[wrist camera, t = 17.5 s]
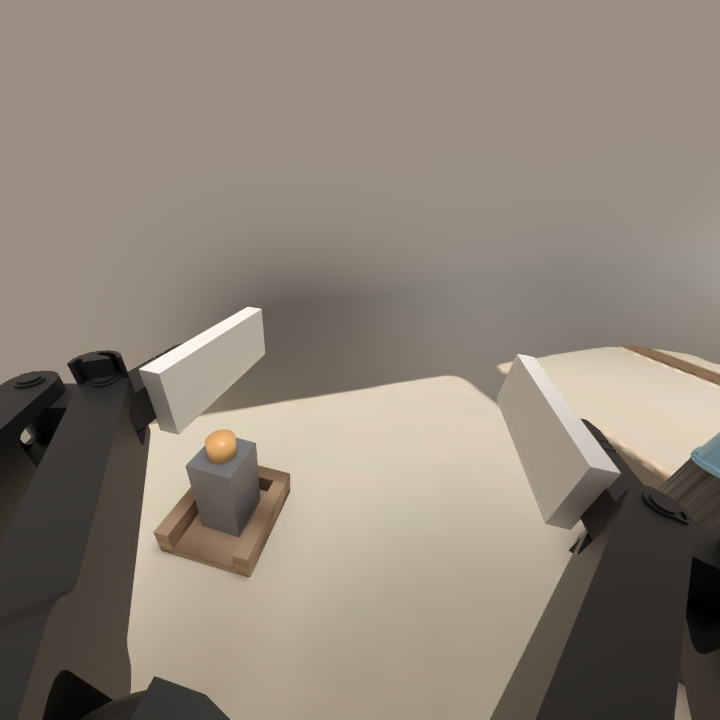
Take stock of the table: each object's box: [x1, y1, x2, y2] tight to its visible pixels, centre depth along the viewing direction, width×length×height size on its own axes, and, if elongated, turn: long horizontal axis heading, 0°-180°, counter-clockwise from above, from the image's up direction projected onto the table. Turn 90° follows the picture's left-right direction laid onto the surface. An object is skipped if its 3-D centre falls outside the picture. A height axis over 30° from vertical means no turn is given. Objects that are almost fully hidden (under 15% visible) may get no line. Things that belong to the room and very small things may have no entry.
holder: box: [154, 466, 290, 577], centre depth 32 cm, size 10×10×4 cm
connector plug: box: [186, 430, 261, 537], centre depth 29 cm, size 4×4×12 cm
